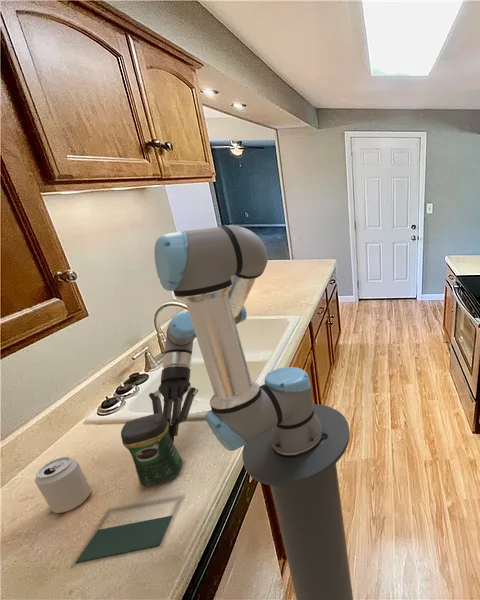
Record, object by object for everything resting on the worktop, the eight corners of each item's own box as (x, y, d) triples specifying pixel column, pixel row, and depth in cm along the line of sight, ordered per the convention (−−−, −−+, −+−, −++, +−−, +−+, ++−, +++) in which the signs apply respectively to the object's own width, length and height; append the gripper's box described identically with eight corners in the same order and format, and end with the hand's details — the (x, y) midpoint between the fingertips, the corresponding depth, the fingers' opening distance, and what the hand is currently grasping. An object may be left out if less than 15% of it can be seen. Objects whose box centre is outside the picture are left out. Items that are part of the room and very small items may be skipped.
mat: (181, 499, 84) (180, 496, 84) (159, 547, 73) (158, 544, 73) (110, 512, 81) (109, 509, 81) (77, 564, 70) (75, 562, 70)
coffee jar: (185, 457, 96) (167, 405, 89) (180, 478, 89) (161, 424, 82) (145, 469, 92) (123, 416, 86) (137, 492, 86) (113, 436, 79)
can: (46, 509, 82) (25, 473, 77) (82, 484, 88) (65, 450, 84) (62, 520, 79) (41, 483, 75) (98, 493, 85) (81, 458, 81)
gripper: (204, 368, 108) (198, 445, 99) (160, 373, 106) (149, 453, 97) (193, 363, 101) (186, 445, 92) (146, 368, 99) (134, 453, 90)
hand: (167, 449), depth 94 cm, fingers closed
